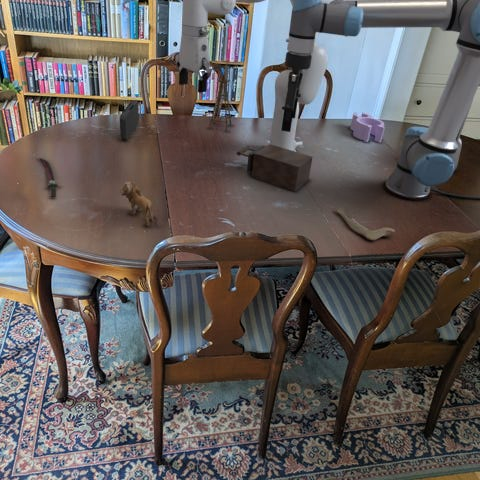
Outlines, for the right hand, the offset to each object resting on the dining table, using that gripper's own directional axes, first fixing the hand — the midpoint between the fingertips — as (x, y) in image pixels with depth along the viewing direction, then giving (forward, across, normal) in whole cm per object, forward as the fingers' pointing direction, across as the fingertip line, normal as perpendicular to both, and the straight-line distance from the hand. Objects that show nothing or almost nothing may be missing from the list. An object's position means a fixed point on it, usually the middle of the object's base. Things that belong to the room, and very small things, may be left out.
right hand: (288, 124), depth 146 cm
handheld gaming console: (+23, -30, -66) cm, 76 cm away
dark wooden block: (+23, -10, -1) cm, 25 cm away
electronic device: (+23, -46, +60) cm, 79 cm away
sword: (+23, +20, -73) cm, 80 cm away
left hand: (-5, -5, -33) cm, 34 cm away
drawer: (+22, -12, -6) cm, 26 cm away
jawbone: (+23, +13, +29) cm, 39 cm away
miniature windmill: (+23, -52, -33) cm, 66 cm away
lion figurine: (+23, +33, -37) cm, 55 cm away
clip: (+23, -73, +30) cm, 82 cm away
